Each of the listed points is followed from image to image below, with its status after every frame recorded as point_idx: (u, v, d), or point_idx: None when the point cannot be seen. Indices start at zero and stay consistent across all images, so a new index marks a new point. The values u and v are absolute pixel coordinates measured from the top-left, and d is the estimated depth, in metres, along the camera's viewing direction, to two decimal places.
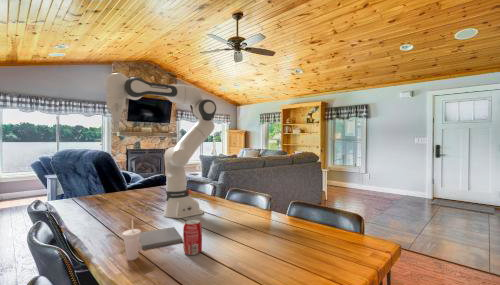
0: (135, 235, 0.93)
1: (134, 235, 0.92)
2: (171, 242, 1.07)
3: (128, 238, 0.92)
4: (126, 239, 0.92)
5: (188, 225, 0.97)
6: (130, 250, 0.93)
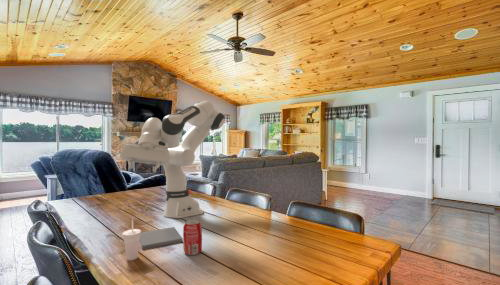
0: (135, 235, 0.93)
1: (134, 235, 0.92)
2: (171, 242, 1.07)
3: (128, 238, 0.92)
4: (126, 239, 0.92)
5: (188, 225, 0.97)
6: (130, 250, 0.93)
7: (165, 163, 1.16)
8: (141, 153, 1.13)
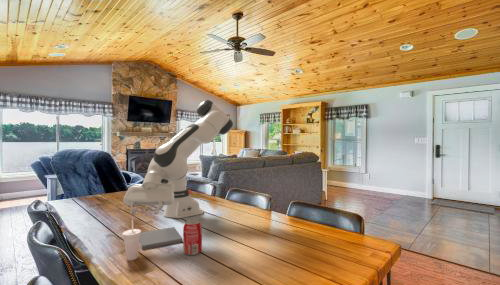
0: (135, 235, 0.93)
1: (134, 235, 0.92)
2: (171, 242, 1.07)
3: (128, 238, 0.92)
4: (126, 239, 0.92)
5: (188, 225, 0.97)
6: (130, 250, 0.93)
7: (168, 202, 1.07)
8: (143, 195, 1.07)
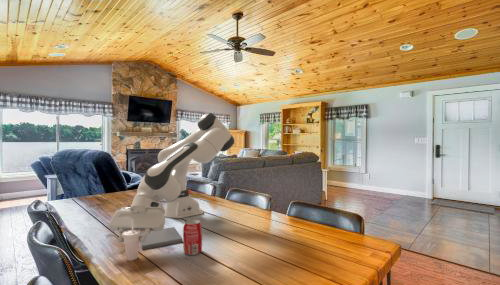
0: (135, 235, 0.93)
1: (134, 235, 0.92)
2: (171, 242, 1.07)
3: (128, 238, 0.92)
4: (126, 239, 0.92)
5: (188, 225, 0.97)
6: (130, 250, 0.92)
7: (158, 229, 0.97)
8: (131, 220, 0.98)
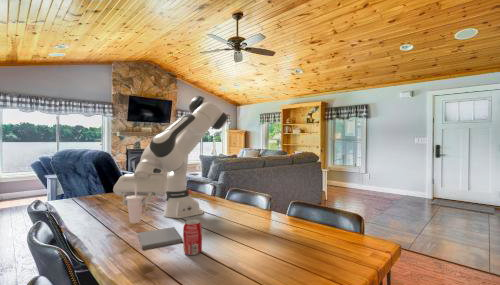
0: (138, 199, 0.96)
1: (137, 198, 0.95)
2: (171, 242, 1.07)
3: (131, 201, 0.95)
4: (129, 202, 0.95)
5: (188, 225, 0.97)
6: (133, 213, 0.96)
7: (160, 193, 1.00)
8: (134, 185, 1.01)
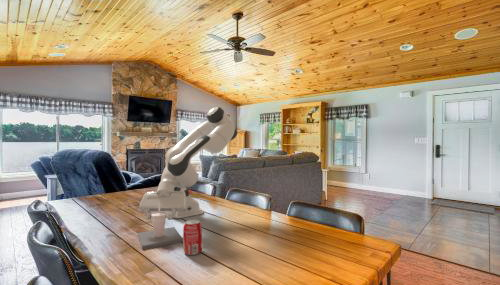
0: (162, 216, 1.10)
1: (161, 216, 1.10)
2: (171, 242, 1.07)
3: (157, 218, 1.10)
4: (155, 219, 1.10)
5: (188, 225, 0.97)
6: (158, 228, 1.10)
7: (181, 209, 1.15)
8: (158, 202, 1.16)
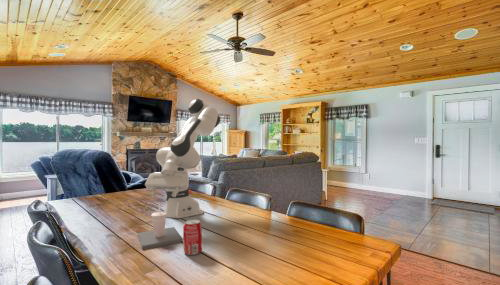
0: (162, 216, 1.10)
1: (161, 216, 1.10)
2: (171, 242, 1.07)
3: (157, 218, 1.10)
4: (155, 219, 1.10)
5: (188, 225, 0.97)
6: (158, 228, 1.10)
7: (184, 187, 1.23)
8: (162, 181, 1.24)
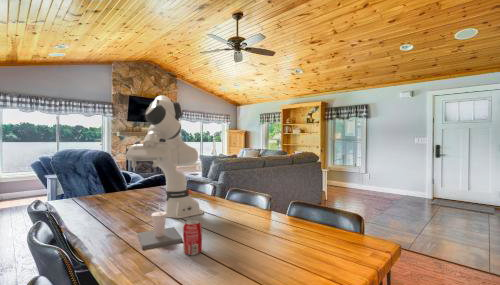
0: (162, 216, 1.10)
1: (161, 216, 1.10)
2: (171, 242, 1.07)
3: (157, 218, 1.10)
4: (155, 219, 1.10)
5: (188, 225, 0.97)
6: (158, 228, 1.10)
7: (165, 158, 1.19)
8: (143, 151, 1.20)
